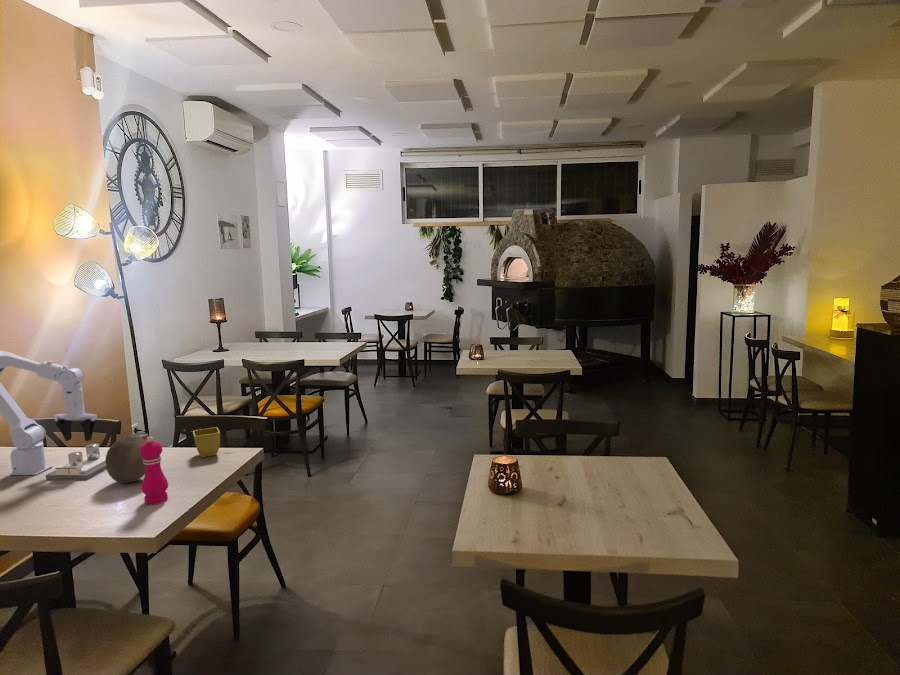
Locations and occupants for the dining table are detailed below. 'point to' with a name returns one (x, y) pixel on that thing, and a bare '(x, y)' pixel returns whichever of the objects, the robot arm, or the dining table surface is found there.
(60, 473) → the scale
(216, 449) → the flower pot
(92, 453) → the cylinder
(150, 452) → the pepper mill
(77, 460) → the cylinder
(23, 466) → the robot arm
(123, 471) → the cantaloupe
